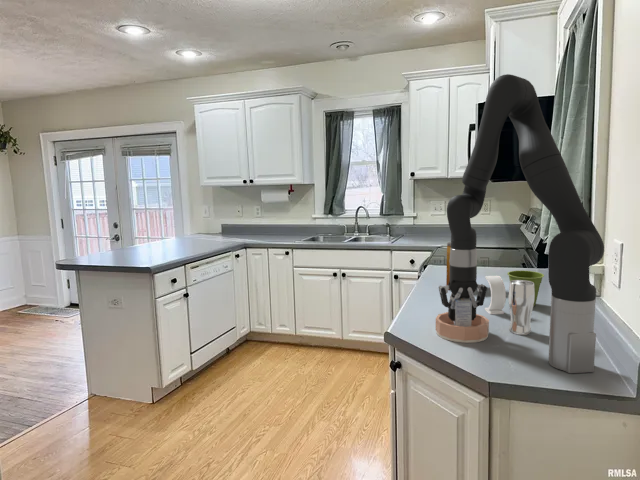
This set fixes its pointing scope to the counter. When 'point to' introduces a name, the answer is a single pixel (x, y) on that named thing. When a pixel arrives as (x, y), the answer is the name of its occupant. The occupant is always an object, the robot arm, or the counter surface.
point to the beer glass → (521, 306)
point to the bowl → (462, 329)
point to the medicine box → (463, 312)
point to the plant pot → (528, 279)
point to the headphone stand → (496, 295)
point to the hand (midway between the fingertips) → (462, 319)
